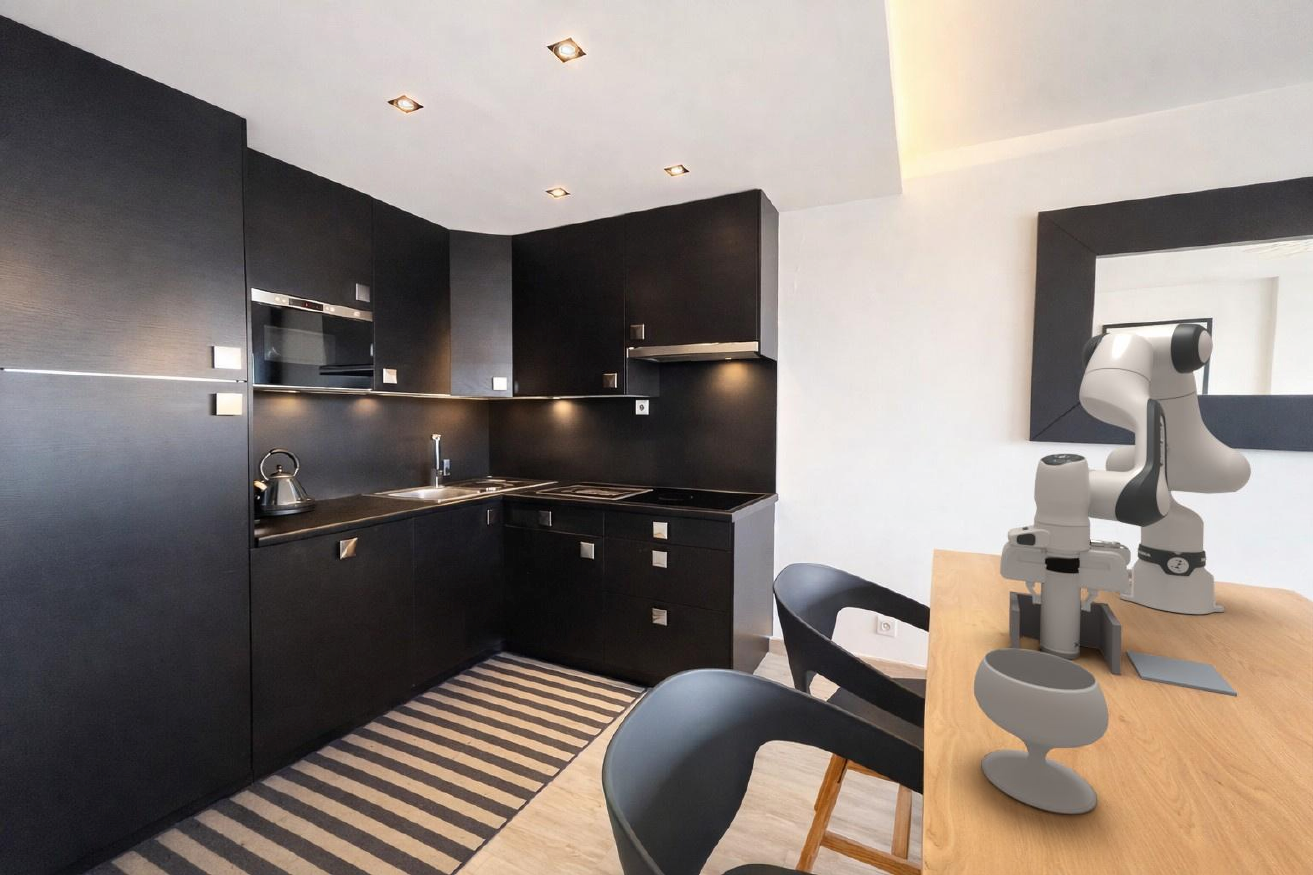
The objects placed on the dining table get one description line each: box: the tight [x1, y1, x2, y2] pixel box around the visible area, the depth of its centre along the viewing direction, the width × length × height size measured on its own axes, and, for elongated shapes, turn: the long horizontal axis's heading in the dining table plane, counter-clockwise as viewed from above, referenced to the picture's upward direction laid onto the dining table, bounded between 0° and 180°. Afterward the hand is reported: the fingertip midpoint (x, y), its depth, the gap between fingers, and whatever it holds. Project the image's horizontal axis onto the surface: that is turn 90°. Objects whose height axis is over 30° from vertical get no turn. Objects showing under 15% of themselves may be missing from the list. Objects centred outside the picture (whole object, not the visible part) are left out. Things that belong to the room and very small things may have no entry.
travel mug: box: [1039, 558, 1082, 660], centre depth 106 cm, size 6×7×20 cm
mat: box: [1126, 650, 1238, 697], centre depth 98 cm, size 12×12×1 cm
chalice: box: [973, 647, 1110, 815], centre depth 69 cm, size 14×14×15 cm
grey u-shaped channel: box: [1008, 590, 1123, 676], centre depth 107 cm, size 13×16×9 cm
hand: (1060, 607), depth 106 cm, fingers closed on travel mug, 6 cm apart
